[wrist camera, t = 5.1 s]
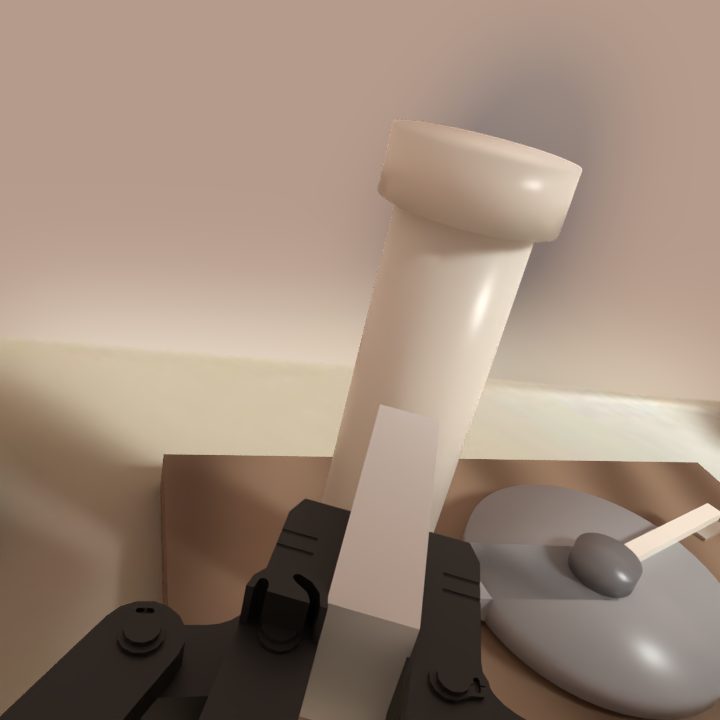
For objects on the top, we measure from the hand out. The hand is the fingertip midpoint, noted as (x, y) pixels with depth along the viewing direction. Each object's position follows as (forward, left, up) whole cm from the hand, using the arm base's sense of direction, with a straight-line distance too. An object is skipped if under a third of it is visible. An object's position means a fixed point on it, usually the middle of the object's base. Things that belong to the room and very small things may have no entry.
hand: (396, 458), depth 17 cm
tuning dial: (-9, -2, -7) cm, 11 cm away
